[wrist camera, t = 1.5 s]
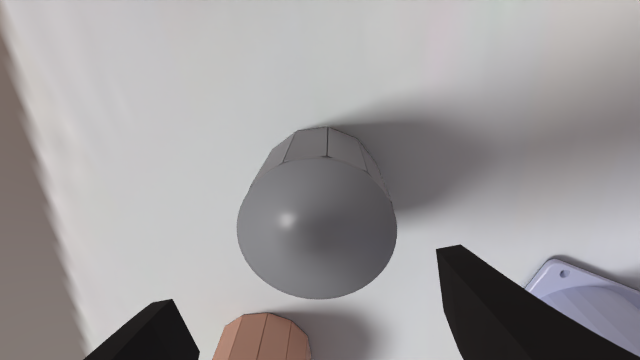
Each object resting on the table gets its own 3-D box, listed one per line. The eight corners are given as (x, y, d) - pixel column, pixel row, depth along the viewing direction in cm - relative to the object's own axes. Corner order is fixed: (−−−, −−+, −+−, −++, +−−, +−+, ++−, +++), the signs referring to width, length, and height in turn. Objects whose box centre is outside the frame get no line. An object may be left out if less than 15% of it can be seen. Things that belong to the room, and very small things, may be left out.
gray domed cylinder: (398, 154, 16) (426, 196, 11) (349, 248, 18) (356, 317, 13) (285, 108, 15) (266, 133, 11) (248, 211, 17) (218, 270, 13)
